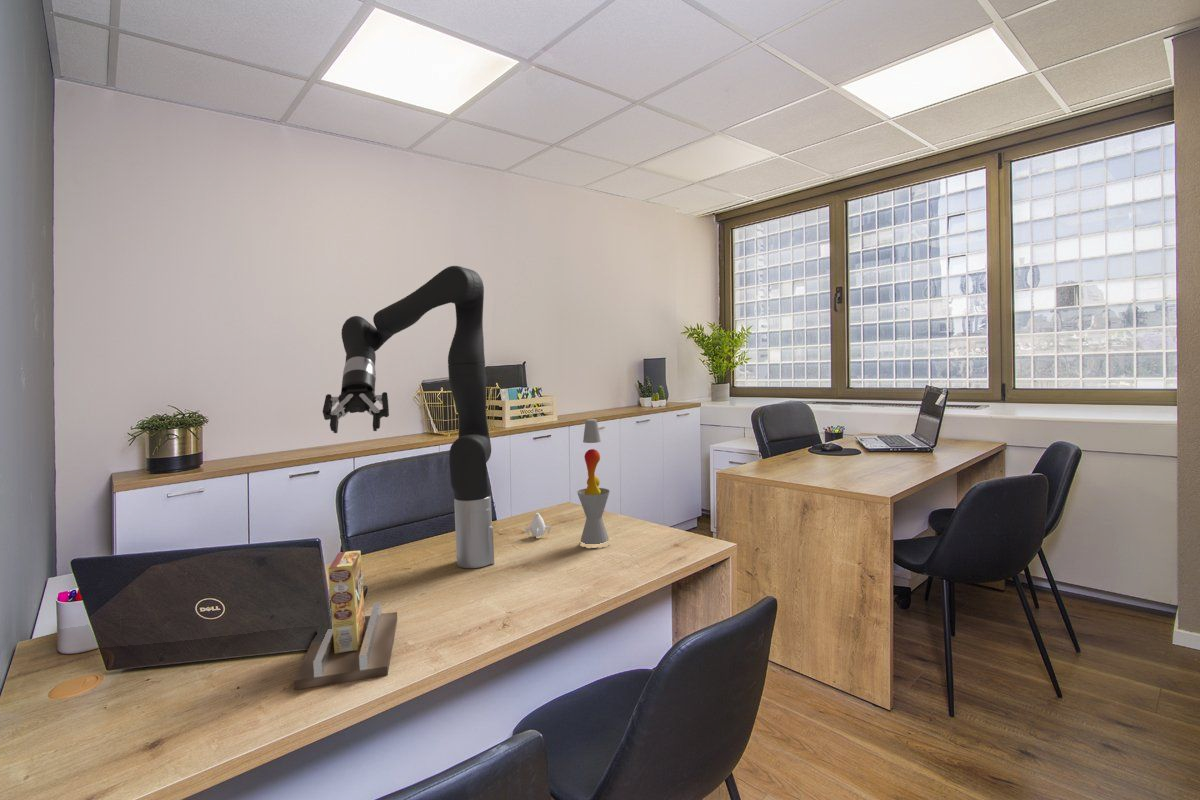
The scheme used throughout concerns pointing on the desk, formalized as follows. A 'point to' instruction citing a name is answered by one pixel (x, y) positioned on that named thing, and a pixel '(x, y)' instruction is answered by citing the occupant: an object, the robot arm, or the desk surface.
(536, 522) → the rocket toy
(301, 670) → the track base
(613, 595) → the desk surface
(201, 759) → the desk surface
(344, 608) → the candy box
